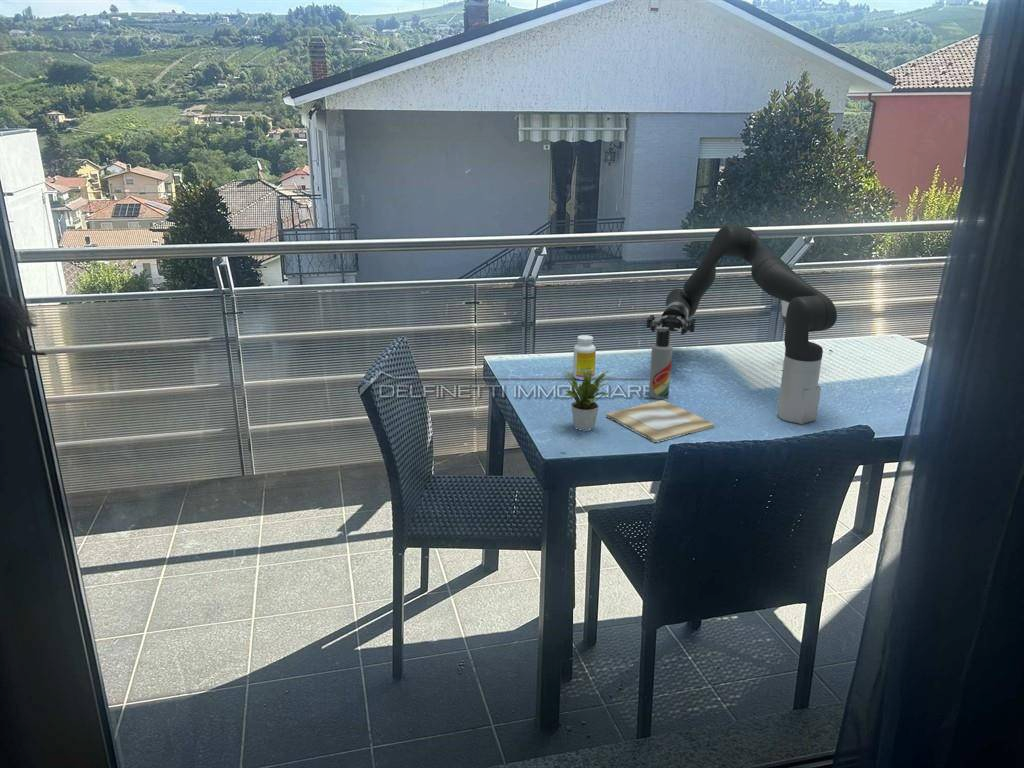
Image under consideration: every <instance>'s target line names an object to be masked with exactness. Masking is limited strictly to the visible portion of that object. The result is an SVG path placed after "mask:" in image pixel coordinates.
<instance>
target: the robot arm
mask: <svg viewBox="0 0 1024 768" xmlns="http://www.w3.org/2000/svg"><path fill="white" fill-rule="evenodd" d="M723 257H730V258H736V259H737V258H739V259H742V260H745V261H746V262H747V263H748V264H750V266H751V269H750V271H751V278H752V280H753V282H755V284H756V285H757V286H758V287H759V288H761V290H763V291H764V293H766V294H768V295H769V296H771V297H773V298H775V299H778V300H781V301H782V300H783V301H786V302H788V303H789V305H788V308H787V313H786V324H785V328H784V338H783V339H784V348H785V350H784V351H785V352H784V359H783V364H784V365H783V371H781V372H782V374H781V382H780V387H779V388H780V389H779V395H778V396H779V397H778V405H777V413H776V416H777V417H778V418H779V419H781V420H783V421H785V422H790V423H796V424H798V425H799V424H800V425H804V424H807V423H810V422H811V423H812V422H814V421H817V416H818V409H819V404H820V396H821V390H822V389H821V388H822V387H821V386H820V385H819V379H820V373H821V372H820V371H821V366H822V360H823V353H824V350H823V347H822V346H821V345H820V344H817V343H815V342H812V341H809V335H810V334H809V333H812V332H822V331H823V332H824V331H827V330H830V329H831V328H832V327H834V325H835V324H836V322H837V319H838V313H837V309H836V305H835V304H834V302H833V301H832V299H831V298H830V297H828V296H827V295H826V294H825V293H823V292H821V291H820V290H818V289H817V288H815V287H814V286H812V285H811V284H809V282H807V281H805V280H804V279H803V278H802V277H801V276H800V275H799V274H798V273H797V272H795V271H794V270H793V268H791V267H790V266H789V265H788V263H785V261H784V260H783V259H781V258H780V257H779V256H777V254H776V253H775V252H773V251H772V250H771V249H770V248H769V247H767V246H766V244H765V243H764V242H763V241H762V239H761V238H760V236H758V234H757V233H756V232H755V230H753V229H751V228H749V227H747V226H741V225H733V224H726V225H723V226H721V227H720V228H719V229H718V231H717V232H716V233H715V235H714V237H713V238H712V241H711V243H710V244H709V246H708V248H707V249H706V251H705V254H703V257H702V258H701V262H700V263H699V264H698V266H697V267H696V269H695V270H694V271H693V272H692V273H691V275H690V276H689V277H688V279H687V280H685V282H684V284H683V286H682V288H683V289H682V288H674V289H672V290H671V291H670V292H669V293H668V294H667V297H666V299H665V307H666V308H665V309H664V311H663V313H662V314H661V316H659V317H655V315H654V314H651V315H649V316H648V317H647V318H646V326H645V327H646V328H647V329H649V328H650V331H651V332H653V333H656V331H657V330H658V329H662V328H664V329H669V331H670V332H677V331H679V332H681V333H680V335H681V336H684V335H686V334H687V333H688V332H690V333H694V332H695V328H696V319H695V318H692V319H690V320H688V319H689V318H691V317H693V316H694V315H695V313H696V312H697V310H698V308H699V305H700V301H701V299H702V298H703V296H704V295H705V293H706V292H707V291H708V290H709V289H710V288H711V287H712V285H713V284H714V282H715V280H716V276H717V274H716V273H717V270H716V267H717V263H718V262H719V261H720V260H721V259H722V258H723Z"/></svg>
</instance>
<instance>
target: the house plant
mask: <svg viewBox="0 0 1024 768" xmlns="http://www.w3.org/2000/svg"><path fill="white" fill-rule="evenodd" d="M582 371H583V369H582ZM564 372H565V373H566V375H567V376H568V377H569V378H566V379H565V380H566V381H567V382H568V383H569V384H570V385H571V390H569V389H567V390H566V392H567V393H566V394H565V395H564V397H572V398H573V399H574V400H575V401H573V402H572V403H571V412H572V420H573V421H572V422H573V427H575V428H577V429H581V430H589V429H593V428H594V429H595V425H596V421H597V417H598V411H599V408H600V407H599V406H600V405H599V403H598V402H597V401H598V400H599V399H600V398H602V397H603V396H605V395H607V396H609V394H611V395H612V394H613V393H612V392H603V391H601V392H599V390H600V388H601V387H602V386H606V385H610V383H602V382H604V381H606V380H608V379H616V378H617V377H613V376H608V377H606V376H607V373H608V372H609V370H607V371H605V372H603V373H602V372H601V374H600V375H599V376H597V377H594V378H593V379H591V376H592V374H591V368H590V366H589V369H588V368H587V369H586V371H585V373H584V371H583V376H584V379H583V380H582V382H581V384H579V385H578V383H577V381H576V380H575V379H576V378H574V376H573V374H570V372H568V371H567V370H564ZM569 379H570V380H569ZM593 380H595V381H593ZM592 381H593V383H592ZM600 395H601V396H600ZM597 396H599V397H598V398H597V399H596V397H597ZM575 428H574V429H575ZM577 429H576V430H577ZM594 429H593V430H594Z"/></svg>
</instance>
